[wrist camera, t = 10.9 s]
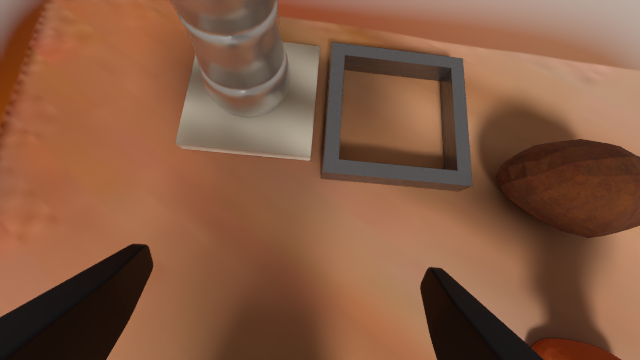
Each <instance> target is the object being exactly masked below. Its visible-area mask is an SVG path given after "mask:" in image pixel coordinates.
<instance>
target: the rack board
mask: <svg viewBox="0 0 640 360" xmlns="http://www.w3.org/2000/svg"><path fill="white" fill-rule="evenodd" d="M283 46H284V48H285V51H286V54H287V57H288V62H289V66H290V74H291V75H290V82H289V86H288V90H287V93H286V96H285V98H284V99H283V101H282V102H281V104H280V105H279V106H278V107H277V108H275V109H274V110H272V111H271V112H269V113H267V114H265V115H262V116H258V117H250V118H247V117H239V116H235V115H232V114H230V113H228V112H226V111H225V110H223V109H222V108H221V107H220V106H219V105H218V104H217V103H216V102H215V101H214V100H213V99H212V98H211V97H210V96H209V94H208V93H207V91H206V89H205V87H204V84H203V80H202V77H201V74H200V70H199V65H198V60H197V57H196V54H195V59H194V63H193V67H192V72H191V76H190V81H189V85H188V89H187V94H186V98H185V103H184V107H183V111H182V116H181V120H180V125H179V129H178V134H177V138H176V142H175V143H176V144H177V145H178V146H179V147H180V148H181V149H191V150H202V151H212V152H223V153H233V154H243V155H254V156H264V157H275V158H285V159H296V160H306V161H310V157H311V146H312V134H313V122H314V111H315V99H316V87H317V76H318V64H319V53H320V46H314V45H306V44H298V43H290V42H283Z"/></svg>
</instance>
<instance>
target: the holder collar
mask: <svg viewBox="0 0 640 360" xmlns="http://www.w3.org/2000/svg"><path fill="white" fill-rule="evenodd" d="M344 70H351V71H359V72H368V73H376V74H385V75H393V76H402V77H410V78H419V79H427V80H436V81H440V92H441V112H442V132H443V152H444V169H434V168H423V167H413V166H403V165H392V164H382V163H371V162H361V161H351V160H340V159H339V148H340V130H341V113H342V95H343V77H344ZM321 179H331V180H342V181H353V182H364V183H375V184H386V185H397V186H408V187H419V188H430V189H441V190H452V191H460V190H463V189H466V188H469V187H471V186H473V185H472V172H471V159H470V146H469V133H468V120H467V107H466V94H465V81H464V68H463V58H455V57H447V56H439V55H431V54H423V53H415V52H406V51H398V50H390V49H382V48H374V47H366V46H358V45H350V44H342V43H334V42H332V48H331V54H330V62H329V75H328V89H327V103H326V116H325V130H324V143H323V157H322V171H321Z"/></svg>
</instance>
